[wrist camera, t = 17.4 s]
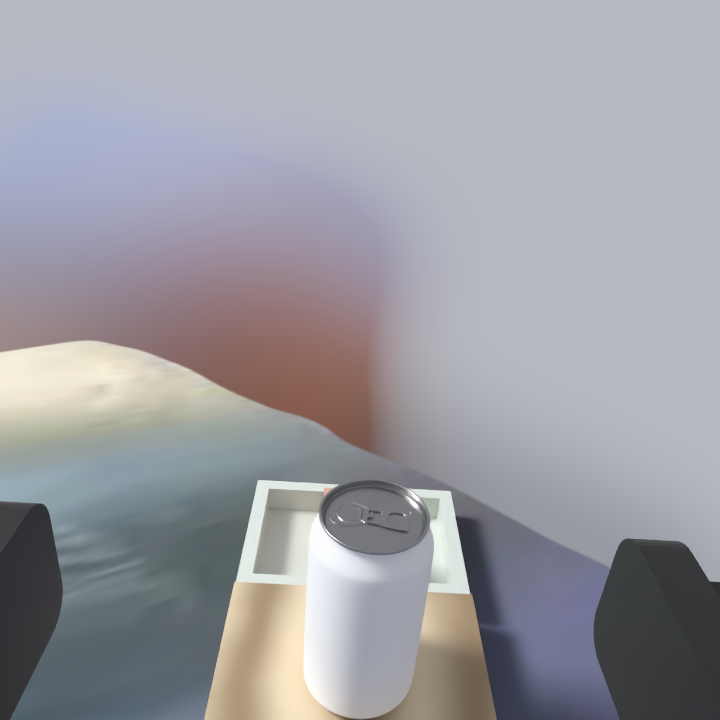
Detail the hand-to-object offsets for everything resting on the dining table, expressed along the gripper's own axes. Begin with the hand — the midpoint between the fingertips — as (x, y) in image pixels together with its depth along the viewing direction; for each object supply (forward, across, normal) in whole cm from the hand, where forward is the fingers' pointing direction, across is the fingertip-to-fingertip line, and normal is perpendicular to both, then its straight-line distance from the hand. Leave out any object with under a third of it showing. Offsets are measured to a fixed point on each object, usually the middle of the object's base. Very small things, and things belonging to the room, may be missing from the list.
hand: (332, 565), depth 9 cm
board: (+19, -2, +30) cm, 36 cm away
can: (+19, -2, +27) cm, 33 cm away
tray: (+31, -2, +30) cm, 43 cm away
